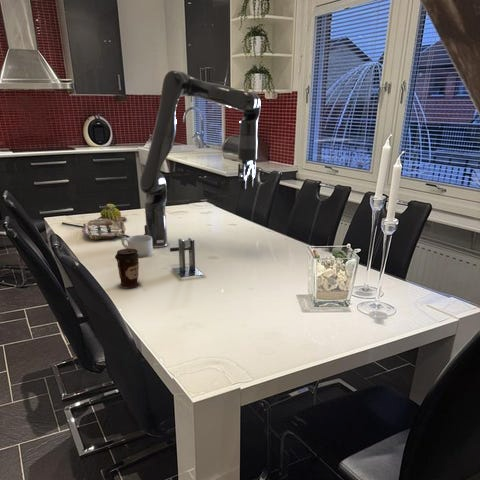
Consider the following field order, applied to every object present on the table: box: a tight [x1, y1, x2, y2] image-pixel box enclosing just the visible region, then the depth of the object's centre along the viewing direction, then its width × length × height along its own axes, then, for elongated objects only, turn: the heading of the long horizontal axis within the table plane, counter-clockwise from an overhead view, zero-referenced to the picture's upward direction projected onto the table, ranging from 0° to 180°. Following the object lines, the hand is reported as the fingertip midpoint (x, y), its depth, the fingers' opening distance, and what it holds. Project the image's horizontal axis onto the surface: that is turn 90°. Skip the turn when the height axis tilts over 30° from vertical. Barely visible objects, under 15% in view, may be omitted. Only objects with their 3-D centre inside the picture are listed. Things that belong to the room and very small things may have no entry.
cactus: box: [97, 203, 127, 223], centre depth 266 cm, size 17×16×10 cm
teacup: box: [120, 234, 154, 259], centre depth 203 cm, size 14×11×8 cm
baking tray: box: [81, 218, 127, 241], centre depth 236 cm, size 30×22×5 cm
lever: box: [169, 239, 191, 253], centre depth 182 cm, size 12×8×2 cm, turn 24°
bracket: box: [172, 237, 204, 279], centre depth 180 cm, size 12×9×14 cm
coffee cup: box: [114, 248, 140, 289], centre depth 167 cm, size 9×8×13 cm
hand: (246, 188), depth 193 cm, fingers open, 8 cm apart
